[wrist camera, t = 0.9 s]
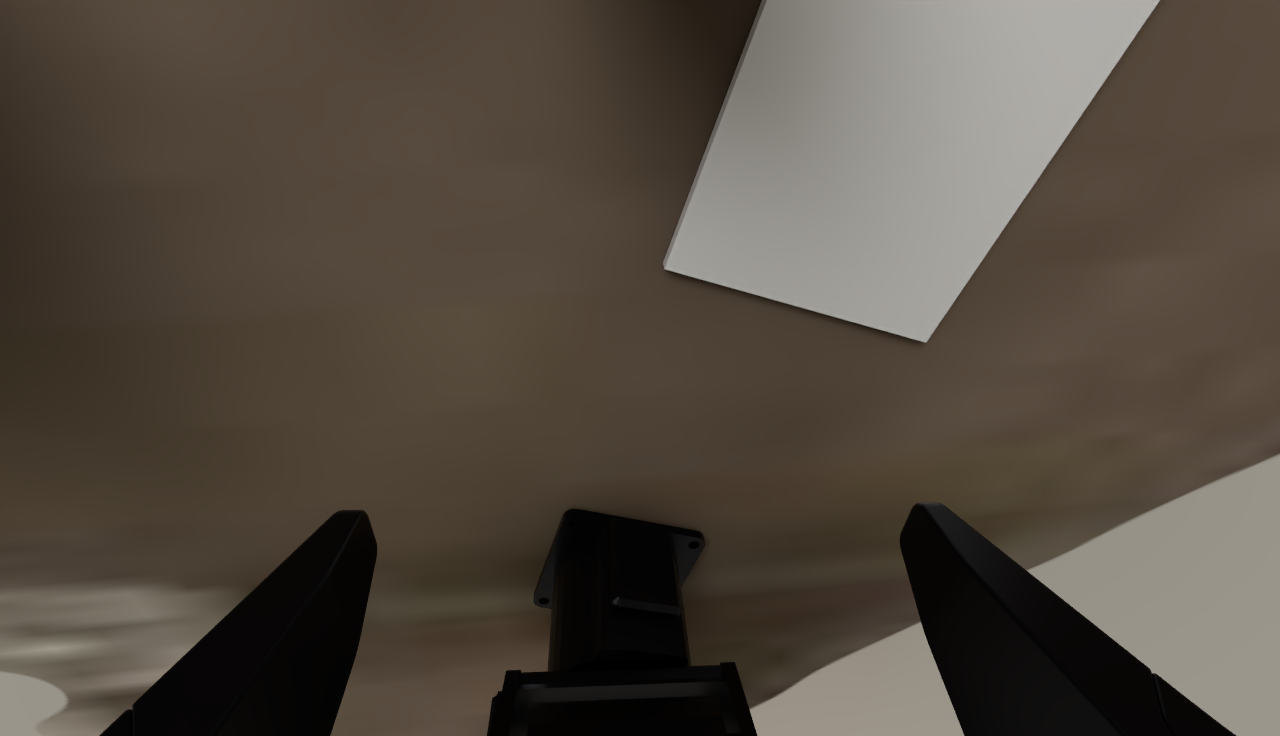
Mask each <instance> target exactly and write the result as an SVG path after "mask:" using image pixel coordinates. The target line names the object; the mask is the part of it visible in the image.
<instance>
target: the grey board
mask: <svg viewBox="0 0 1280 736" xmlns="http://www.w3.org/2000/svg"><path fill="white" fill-rule="evenodd" d="M1159 1H1160V0H762V1H761V4H760V7H759V9H758V12H757V15H756V17H755V20H754V22H753V25H752V28H751V30H750V33H749V36H748V38H747V41H746V44H745V46H744V49H743V52H742V54H741V57H740V60H739V62H738V65H737V68H736V70H735V73H734V76H733V78H732V81H731V84H730V86H729V89H728V91H727V94H726V97H725V99H724V102H723V105H722V107H721V110H720V113H719V115H718V118H717V121H716V123H715V126H714V129H713V131H712V134H711V137H710V139H709V142H708V145H707V147H706V150H705V152H704V155H703V158H702V160H701V163H700V166H699V168H698V171H697V174H696V176H695V179H694V182H693V184H692V187H691V190H690V192H689V195H688V198H687V200H686V203H685V206H684V208H683V211H682V213H681V216H680V219H679V221H678V224H677V227H676V229H675V232H674V235H673V237H672V240H671V243H670V245H669V248H668V251H667V253H666V256H665V259H664V261H663V265H664V269H666V270H669V271H673V272H676V273H680V274H683V275H687V276H690V277H694V278H698V279H701V280H705V281H708V282H712V283H715V284H719V285H723V286H726V287H730V288H733V289H737V290H740V291H744V292H747V293H751V294H755V295H758V296H762V297H765V298H769V299H772V300H776V301H779V302H783V303H787V304H790V305H794V306H797V307H801V308H804V309H808V310H812V311H815V312H819V313H822V314H826V315H829V316H833V317H836V318H840V319H844V320H847V321H851V322H854V323H858V324H861V325H865V326H869V327H872V328H876V329H879V330H883V331H886V332H890V333H893V334H897V335H901V336H904V337H908V338H911V339H915V340H918V341H922V342H925V343H926V342H927V341H928V339H929V338H930V336H931V335H932V333H933V332H934V330H935V329H936V327H937V326H938V324H939V323H940V322H941V320H942V319H943V317H944V316H945V314H946V313H947V311H948V310H949V308H950V307H951V305H952V304H953V302H954V301H955V300H956V298H957V297H958V295H959V294H960V292H961V291H962V289H963V288H964V286H965V285H966V283H967V282H968V280H969V279H970V278H971V276H972V275H973V273H974V272H975V270H976V269H977V267H978V266H979V264H980V263H981V261H982V260H983V259H984V257H985V256H986V254H987V253H988V251H989V250H990V248H991V247H992V245H993V244H994V242H995V241H996V239H997V238H998V237H999V235H1000V234H1001V232H1002V231H1003V229H1004V228H1005V226H1006V225H1007V223H1008V222H1009V220H1010V219H1011V217H1012V216H1013V215H1014V213H1015V212H1016V210H1017V209H1018V207H1019V206H1020V204H1021V203H1022V201H1023V200H1024V198H1025V197H1026V196H1027V194H1028V193H1029V191H1030V190H1031V188H1032V187H1033V185H1034V184H1035V182H1036V181H1037V179H1038V178H1039V176H1040V175H1041V174H1042V172H1043V171H1044V169H1045V168H1046V166H1047V165H1048V163H1049V162H1050V160H1051V159H1052V157H1053V156H1054V155H1055V153H1056V152H1057V150H1058V149H1059V147H1060V146H1061V144H1062V143H1063V141H1064V140H1065V138H1066V137H1067V135H1068V134H1069V133H1070V131H1071V130H1072V128H1073V127H1074V125H1075V124H1076V122H1077V121H1078V119H1079V118H1080V116H1081V115H1082V113H1083V112H1084V111H1085V109H1086V108H1087V106H1088V105H1089V103H1090V102H1091V100H1092V99H1093V97H1094V96H1095V94H1096V93H1097V92H1098V90H1099V89H1100V87H1101V86H1102V84H1103V83H1104V81H1105V80H1106V78H1107V77H1108V75H1109V74H1110V72H1111V71H1112V70H1113V68H1114V67H1115V65H1116V64H1117V62H1118V61H1119V59H1120V58H1121V56H1122V55H1123V53H1124V52H1125V50H1126V49H1127V48H1128V46H1129V45H1130V43H1131V42H1132V40H1133V39H1134V37H1135V36H1136V34H1137V33H1138V31H1139V30H1140V29H1141V27H1142V26H1143V24H1144V23H1145V21H1146V20H1147V18H1148V17H1149V15H1150V14H1151V12H1152V11H1153V9H1154V8H1155V7H1156V5H1157V4H1158V2H1159Z"/></svg>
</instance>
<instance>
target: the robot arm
mask: <svg viewBox="0 0 1280 736" xmlns="http://www.w3.org/2000/svg"><path fill="white" fill-rule="evenodd" d="M572 520H577V521H572ZM693 541H694V542H693ZM704 546H705V541H704V536H703V534H702V533H701V532H699V531H695V530H689V529H684V528H678V527H673V526H667V525H662V524H656V523H651V522H645V521H640V520H634V519H629V518H623V517H618V516H612V515H607V514H601V513H596V512H590V511H585V510H579V509H570V510H568V511H566V512H565V513H564V514H563V516H562V519H561V522H560V524H559V527H558V530H557V532H556V535H555V538H554V541H553V543H552V546H551V549H550V551H549V554H548V557H547V559H546V562H545V565H544V567H543V570H542V573H541V576H540V578H539V581H538V584H537V586H536V589H535V592H534V604H535V605H537V606H539V607H543V608H550V609H552V614H551V629H550V643H549V658H548V672H524V673H521V670H508V671H506V674H505V679H504V684H503V689H502V691H498V694H497V696H495V697H493V698H492V704H491V711H490V719H489V726H488V732H487V736H757V733H756V730H755V727H754V723H753V720H752V717H751V714H750V710H749V707H748V704H747V700H746V697H745V694H744V691H743V687H742V684H741V681H740V678H739V674H738V671H737V668H736V664H735V662H721V663H720V665H709V666H691V660H690V652H689V645H688V637H687V630H686V622H685V614H684V607H683V599H682V592H681V587H682V585H683V583H684V581H685V580H686V578H687V576H688V574H689V573H690V571H691V569H692V567H693V566H694V564H695V562H696V560H697V559H698V557H699V555H700V553H701V552H702V550H703V548H704ZM900 547H901V551H902V555H903V559H904V562H905V566H906V569H907V573H908V577H909V580H910V584H911V587H912V591H913V595H914V598H915V602H916V605H917V609H918V613H919V616H920V620H921V623H922V626H923V629H924V633H925V635H926V638H927V641H928V644H929V646H930V649H931V652H932V654H933V657H934V659H935V662H936V664H937V667H938V669H939V672H940V674H941V677H942V679H943V682H944V685H945V687H946V690H947V692H948V695H949V697H950V700H951V702H952V705H953V707H954V710H955V712H956V715H957V718H958V720H959V722H960V725H961V728H962V730H963V733H964V735H965V736H1236V735H1235V734H1233V733H1232V732H1231V731H1229V730H1228V729H1226V728H1225V727H1224V726H1222V725H1221V724H1220V723H1218V722H1217V721H1216V720H1215V719H1213V718H1212V717H1211V716H1209V715H1208V714H1207V713H1206V712H1204V711H1203V710H1201V709H1200V708H1199V707H1198V706H1197V705H1195V704H1194V703H1193V702H1191V701H1190V700H1189V699H1187V698H1186V697H1185V696H1184V695H1182V694H1181V693H1180V692H1178V691H1177V690H1176V689H1175V688H1173V687H1172V686H1171V685H1170V684H1168V683H1167V682H1166V681H1164V680H1163V679H1162V678H1161V677H1159V676H1158V675H1157V674H1154V673H1153V674H1152V673H1151V670H1150V669H1149V668H1148V667H1147V666H1146V665H1144V664H1143V663H1142V662H1141V661H1139V660H1138V659H1137V658H1136V657H1134V656H1133V655H1132V654H1131V653H1129V652H1128V651H1127V650H1125V649H1124V648H1123V647H1122V646H1120V645H1119V644H1118V643H1117V642H1115V641H1114V640H1113V639H1112V638H1110V637H1109V636H1108V635H1107V634H1105V633H1104V632H1103V631H1102V630H1100V629H1099V628H1098V627H1097V626H1095V625H1094V624H1093V623H1092V622H1090V621H1089V620H1088V619H1087V618H1085V617H1084V616H1083V615H1082V614H1080V613H1079V612H1078V611H1076V610H1075V609H1074V608H1073V607H1071V606H1070V605H1069V604H1068V603H1066V602H1065V601H1064V600H1063V599H1061V598H1060V597H1059V596H1058V595H1056V594H1055V593H1054V592H1053V591H1051V590H1050V589H1049V588H1048V587H1046V586H1045V585H1044V584H1043V583H1041V582H1040V581H1039V580H1038V579H1036V578H1035V577H1034V576H1033V575H1031V574H1030V573H1029V572H1028V571H1026V570H1025V569H1024V568H1022V567H1021V566H1020V565H1019V564H1017V563H1016V562H1015V561H1014V560H1012V559H1011V558H1010V557H1009V556H1007V555H1006V554H1005V553H1004V552H1002V551H1001V550H1000V549H999V548H997V547H996V546H995V545H994V544H992V543H991V542H990V541H989V540H987V539H986V538H985V537H984V536H982V535H981V534H980V533H979V532H977V531H976V530H975V529H973V528H972V527H971V526H970V525H968V524H967V523H966V522H965V521H963V520H962V519H961V518H960V517H958V516H957V515H956V514H955V513H953V512H952V511H951V510H950V509H948V508H947V507H946V506H944V505H943V504H941V503H935V502H934V503H917V504H915V505H914V506H913V507H912V509H911V511H910V514H909V516H908V518H907V520H906V522H905V525H904V527H903V529H902V531H901V534H900ZM376 557H377V543H376V539H375V536H374V533H373V530H372V527H371V524H370V520H369V517H368V515H367V513H366V512H365V511H363V510H341V511H338V512H336V513H334V514H333V515H332V516H331V517H330V518H329V519H328V520H327V521H326V522H325V523H324V524H322V525H321V526H320V527H319V528H318V529H317V530H316V531H315V532H314V533H313V534H312V535H311V536H310V537H309V538H308V539H307V540H306V541H305V542H303V543H302V544H301V545H300V546H299V547H298V548H297V549H296V550H295V551H294V552H293V553H292V554H291V555H290V556H289V557H288V558H287V559H286V560H284V561H283V562H282V563H281V564H280V565H279V566H278V567H277V568H276V569H275V570H274V571H273V572H272V573H271V574H270V575H269V576H268V577H267V578H265V579H264V580H263V581H262V582H261V583H260V584H259V585H258V586H257V587H256V588H255V589H254V590H253V591H252V592H251V593H250V594H249V595H248V596H246V597H245V598H244V599H243V600H242V601H241V602H240V603H239V604H238V605H237V606H236V607H235V608H234V609H233V610H232V611H231V612H230V613H229V614H227V615H226V616H225V617H224V618H223V619H222V620H221V621H220V622H219V623H218V624H217V625H216V626H215V627H214V628H213V629H212V630H211V631H210V632H208V633H207V634H206V635H205V636H204V637H203V638H202V639H201V640H200V641H199V642H198V643H197V644H196V645H195V646H194V647H193V648H192V649H191V650H190V651H188V652H187V653H186V654H185V655H184V656H183V657H182V658H181V659H180V660H179V661H178V662H177V663H176V664H175V665H174V666H173V667H172V668H171V669H169V670H168V671H167V672H166V673H165V674H164V675H163V676H162V677H161V678H160V679H159V680H158V681H157V682H156V683H155V684H154V685H153V686H152V687H150V688H149V689H148V690H147V691H146V692H145V693H144V694H143V695H142V696H141V697H140V698H139V699H138V700H137V701H136V702H135V703H134V704H133V705H132V710H131V709H129V710H126V711H125V712H124V713H123V714H122V715H121V716H120V717H119V718H117V719H116V720H115V721H114V722H113V723H112V724H111V725H110V726H109V727H108V728H107V729H106V730H105V731H104V732H103V733H102V734H101V735H100V736H330V735H331V732H332V729H333V726H334V722H335V719H336V716H337V713H338V710H339V707H340V704H341V701H342V698H343V695H344V691H345V688H346V685H347V682H348V679H349V676H350V673H351V670H352V667H353V663H354V660H355V657H356V653H357V650H358V645H359V641H360V636H361V632H362V627H363V622H364V617H365V612H366V607H367V602H368V597H369V592H370V587H371V582H372V577H373V572H374V567H375V563H376Z"/></svg>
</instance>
